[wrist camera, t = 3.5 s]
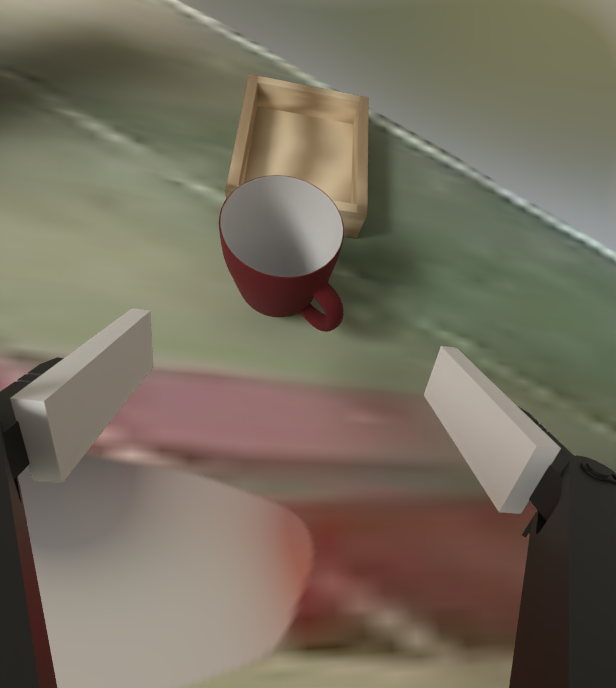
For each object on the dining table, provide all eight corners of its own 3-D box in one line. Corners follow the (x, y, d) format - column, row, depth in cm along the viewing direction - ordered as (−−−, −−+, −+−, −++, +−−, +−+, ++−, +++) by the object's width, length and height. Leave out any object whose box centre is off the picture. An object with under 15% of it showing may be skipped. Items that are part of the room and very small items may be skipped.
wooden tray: (228, 219, 32) (225, 192, 29) (250, 107, 38) (249, 74, 35) (356, 238, 34) (367, 214, 30) (359, 127, 39) (368, 97, 36)
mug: (356, 309, 31) (398, 244, 22) (303, 373, 28) (325, 330, 19) (270, 244, 32) (275, 155, 23) (212, 299, 29) (189, 223, 20)
